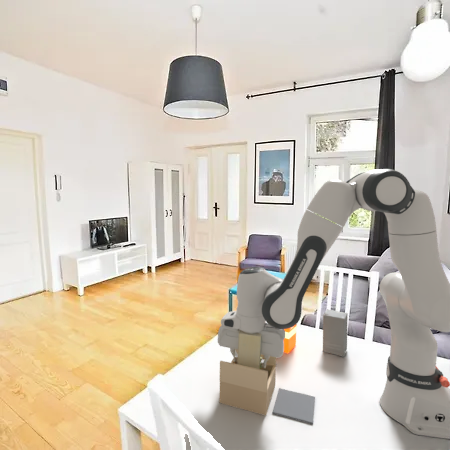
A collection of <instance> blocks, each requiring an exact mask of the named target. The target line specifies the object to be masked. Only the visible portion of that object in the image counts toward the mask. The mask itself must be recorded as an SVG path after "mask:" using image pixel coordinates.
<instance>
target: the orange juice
mask: <svg viewBox="0 0 450 450" xmlns="http://www.w3.org/2000/svg"><path fill="white" fill-rule="evenodd" d="M297 324H298V323H297ZM297 324H296V325H295V326H293V327H291V328H288V329H284V330H285V339H284V353H285V354H289V353H290V352H292V351H293V349H294V348H295V347H296V346H297V345H296V343H297V327H298V326H297Z"/></svg>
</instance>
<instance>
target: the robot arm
mask: <svg viewBox="0 0 450 450" xmlns="http://www.w3.org/2000/svg"><path fill="white" fill-rule="evenodd" d="M432 205H433V204H432V201H431V199H430V196H428V194H427V193H426V192H424V191H422V190H419V189H418V190H417V189H414V188H413V187H412V186H411V183H410V181H409V180H408V178H407V177H406V176H405V175H404V174H403V173H401V172H400V171H398V170H395V169H391V168H383V169H382V168H380V169H379V168H376V169H370V170H368V171H365V172H360V173H358V174H356V175H354V176H353V177H352V178H350V179H349V180H347V181H345V180H341V179H329V180H327V181H325V182H324V183H323V185H321V187H320V188H319V189H318V191H317V192H316V194H314V196H313V197H312V199H311V201H310V203H309V204H308V206H307V208H306V209H305V212H304V213H303V215H302V217H301V221H300V224H299V226H298V230H297V244H296V251H295V255H294V258H293V260H292V262H291V263H290V266H289V268H288V270H287V271H286V274H285V276H284V277H283V278H280V277H279V276H276V275H273V274H272V273H270V272H269V271H267V270H266V269H265V268H264V267H259V266H252V267H248V268H245V269H243V270H242V271H241V272H240V273H239V275H238V278H237V284H236V285H237V286H236V299H237V306H236V310H232V311H228V312H226V313H225V314H224V316H223V317H222V318H221V319H220V327H219V328H218V333H217V343H218V345H219V347H224V348H228V349H230V351H229V352H230V353H231V355H232V357H233V358H234V362H237V360H238V354H237V352H236V349H237V350H238V339H239V331H240V330H242V331H243V332H245V333H250V334H255V333H259V334H261V346H260V354H262V355H264V358H265V359H264V360H263V359H262V360H261V362H260V367H261V368H266V362H267V361H268V359H269V357H270V356H272V357H276V359H277V358H278V359H280V358H281V357H283V355H284V353H285V352H284V339H285V330H284V329H288V328H291V327H293V326H295V325H296V324H298V323H299V322H300V321H301V320H300V319H301V316H302V309H303V307H302V306H303V305H302V304H303V299H304V297H305V294H306V292H307V290H308V289H309V286H310V284H311V282H312V280H313V279H314V277H315V275H316V272H317V271H318V269H319V266H320V265H321V263H322V261H323V260H324V258H325V257H326V255H327V254H328V252H329V250H330V249H331V247H332V246H333V245H334V244H335V242H336V240H337V239H338V237H339V236H340V234H341V233H342V232H343V229H344V227H345V226H346V224H347V221H348V219H349V218H350V217H351V215H352V214H353V213H354V212H356V211H357V210H359V209H363V210H365V211H369V212H380V213H383V214H384V215H385V218H386V221H387V231H388V242H389V251H390V258H391V261H392V263H393V264H394V266H395V267H396V269H397V270H398V272H397V271H396V272H390V273H387V274H385V276H384V277H383V278H382V279H381V280H380V284H379V292H380V295H381V297H382V299H383V300H384V304H385V305H386V310H387V315H388V320H389V326H390V351H389V352H390V353H389V356H388V358H387V363H386V381H385V382H386V383H385V387H384V390H383V392H382V394H381V396H380V398H379V403H380V406H381V408H382V410H383V411H384V412H385V413H386V414H387V415H388V416H389V417H390V418H392V419H393V420H395V421H396V422H398V423H399V424H401V425H403V426H404V427H405V428H406V430H408V431H410V432H411V433H412V434H414V435H418V436H426V437H433V438H440V439H446V440H448V439H449V440H450V388H449V387H450V381H449V380H448V378H447V377H446V376H444V374H443V372H442V371H441V370H440V369H439V367H437V357H438V349H439V347H438V341H437V339H436V338H435V335H434V334H433V332H432V330H435V331H439V332H441V333H450V281H449V279H448V277H447V274H446V273H445V270H444V268H443V265H442V262H441V258H440V252H439V243H438V234H437V233H438V232H437V225H436V224H437V223H436V217H435V213H434V209H433V208H434V207H433V206H432Z"/></svg>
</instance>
